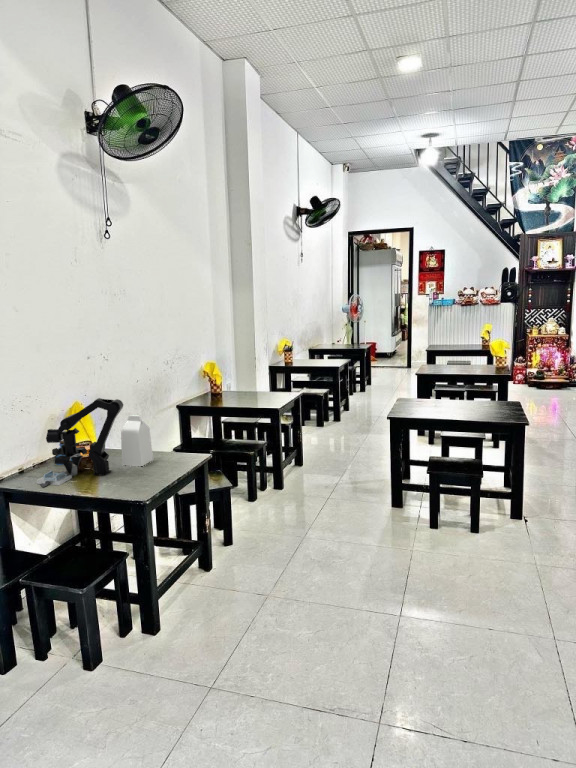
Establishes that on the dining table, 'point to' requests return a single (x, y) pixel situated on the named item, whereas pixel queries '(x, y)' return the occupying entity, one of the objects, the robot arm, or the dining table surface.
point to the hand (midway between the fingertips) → (72, 472)
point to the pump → (74, 470)
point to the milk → (136, 442)
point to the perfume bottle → (61, 454)
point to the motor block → (53, 478)
